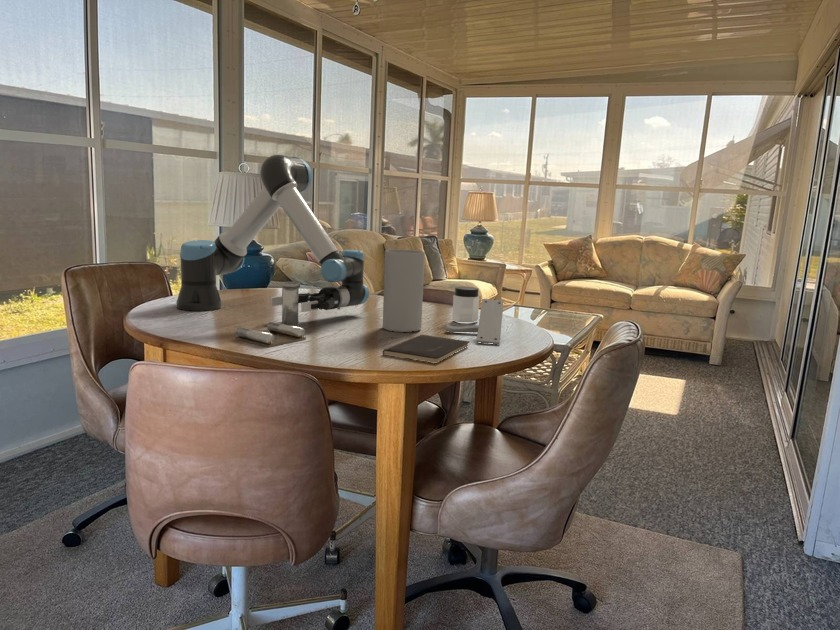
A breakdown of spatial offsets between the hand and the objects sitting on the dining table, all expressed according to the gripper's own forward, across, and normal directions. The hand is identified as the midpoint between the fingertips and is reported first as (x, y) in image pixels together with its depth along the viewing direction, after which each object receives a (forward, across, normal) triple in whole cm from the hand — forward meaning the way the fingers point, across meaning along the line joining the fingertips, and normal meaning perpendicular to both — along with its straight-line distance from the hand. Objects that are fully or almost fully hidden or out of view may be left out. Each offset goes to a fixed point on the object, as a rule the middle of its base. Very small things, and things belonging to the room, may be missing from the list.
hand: (286, 304), depth 196 cm
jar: (-52, -34, -8) cm, 62 cm away
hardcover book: (-7, -49, -8) cm, 50 cm away
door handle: (-32, -49, -8) cm, 59 cm away
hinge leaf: (+14, -9, -7) cm, 18 cm away
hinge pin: (-2, 0, -7) cm, 8 cm away
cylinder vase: (-26, -26, -8) cm, 37 cm away
